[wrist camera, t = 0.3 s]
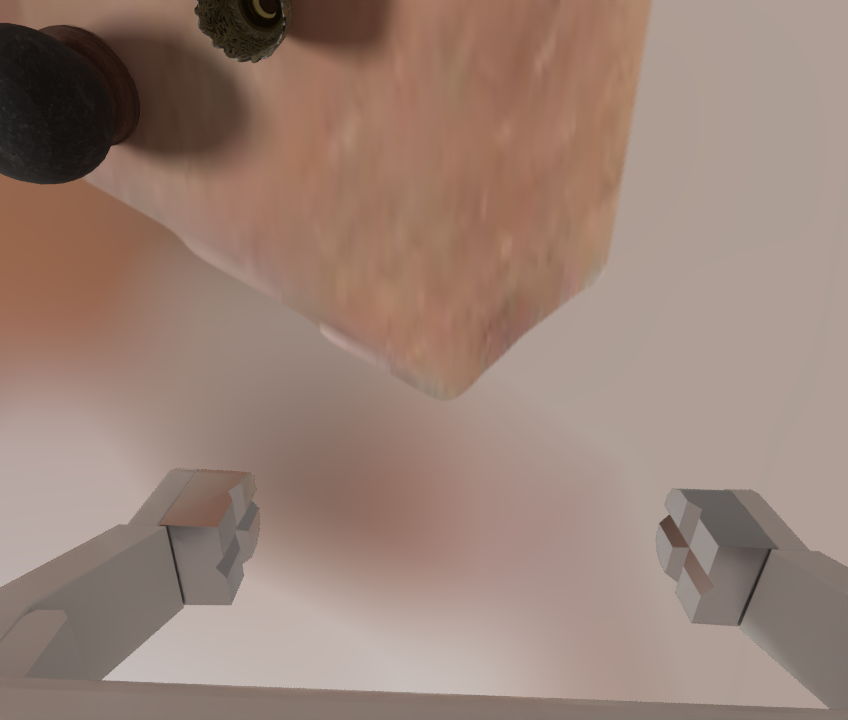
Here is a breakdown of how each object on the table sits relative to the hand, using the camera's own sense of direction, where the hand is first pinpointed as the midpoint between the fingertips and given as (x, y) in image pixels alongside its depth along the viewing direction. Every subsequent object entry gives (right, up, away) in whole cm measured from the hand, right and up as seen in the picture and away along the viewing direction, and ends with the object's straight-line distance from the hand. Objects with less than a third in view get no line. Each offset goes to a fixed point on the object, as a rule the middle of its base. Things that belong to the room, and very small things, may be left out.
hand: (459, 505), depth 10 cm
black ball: (-36, +31, +43) cm, 65 cm away
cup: (-15, +36, +37) cm, 54 cm away
